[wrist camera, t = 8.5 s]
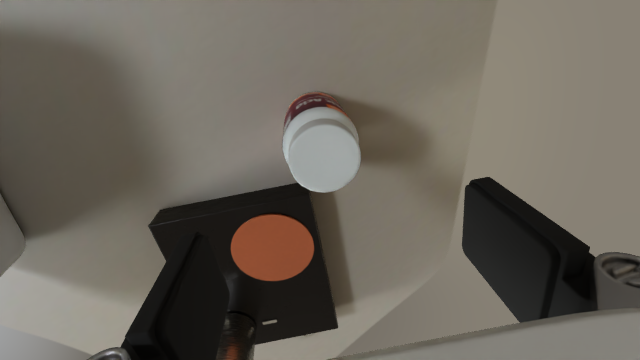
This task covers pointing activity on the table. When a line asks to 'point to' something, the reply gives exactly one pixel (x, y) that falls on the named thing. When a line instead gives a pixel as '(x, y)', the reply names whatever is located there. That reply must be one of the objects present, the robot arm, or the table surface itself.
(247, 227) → the burner ring
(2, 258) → the radio
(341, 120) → the pill bottle
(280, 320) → the hob
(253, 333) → the hob knob
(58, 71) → the table surface
